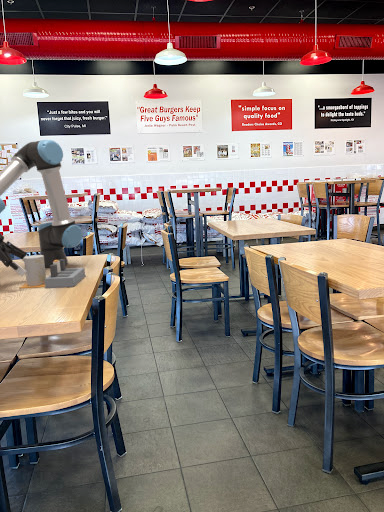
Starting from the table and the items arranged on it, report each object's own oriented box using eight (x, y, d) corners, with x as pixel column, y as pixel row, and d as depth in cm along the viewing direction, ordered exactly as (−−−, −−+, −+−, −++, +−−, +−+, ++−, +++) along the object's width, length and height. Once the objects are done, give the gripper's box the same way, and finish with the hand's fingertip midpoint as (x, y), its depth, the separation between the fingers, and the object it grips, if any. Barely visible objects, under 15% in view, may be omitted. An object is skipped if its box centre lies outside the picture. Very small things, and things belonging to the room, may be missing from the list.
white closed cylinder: (40, 285, 182) (37, 258, 180) (23, 285, 184) (19, 258, 182) (50, 281, 190) (47, 254, 188) (33, 281, 192) (30, 255, 190)
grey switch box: (59, 277, 200) (57, 258, 198) (85, 276, 200) (83, 257, 198) (45, 288, 180) (43, 267, 179) (73, 286, 180) (71, 265, 179)
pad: (29, 282, 193) (29, 281, 193) (53, 281, 193) (53, 280, 193) (19, 288, 182) (19, 287, 182) (45, 287, 182) (45, 286, 182)
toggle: (56, 271, 191) (55, 259, 190) (60, 271, 191) (59, 259, 190) (54, 273, 188) (52, 261, 187) (58, 272, 188) (57, 260, 187)
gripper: (-2, 240, 196) (34, 270, 199) (-29, 248, 171) (13, 283, 174) (8, 228, 195) (44, 258, 198) (-17, 234, 170) (25, 270, 173)
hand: (30, 270), depth 186 cm, fingers open, 13 cm apart
